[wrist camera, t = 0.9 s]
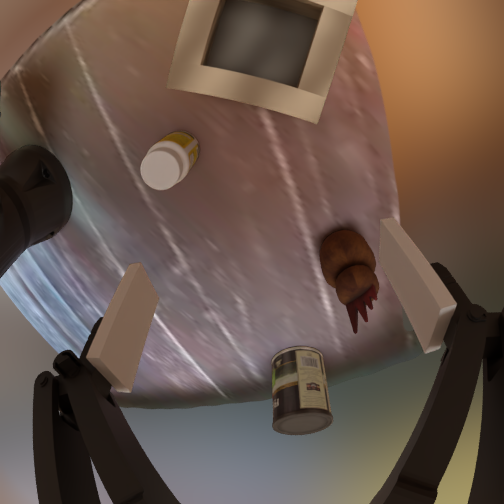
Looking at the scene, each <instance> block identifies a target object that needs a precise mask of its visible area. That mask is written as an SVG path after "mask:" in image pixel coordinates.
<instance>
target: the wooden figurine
mask: <svg viewBox="0 0 504 504" xmlns="http://www.w3.org/2000/svg"><path fill="white" fill-rule="evenodd" d="M320 262H321V268H322V272H323V275H324V277H325V280H326V281H327V283H328V284H329V285H331V286H332V287H333V288H336V293H337V296H338V298H339V300H340V302H341V303H342V304H344V305H346V308H347V311H348V315H349V318H350V321H351V324H352V328H353V331H354V333H355V334H356V333H357V328H358V311H359V312H360V314H361V316H362V317H363V319H364V321H365V322H368V317H367V311H366V305H367V306H368V307H369V308H370V309H371V310H372V309H373V305H372V301H373V300H377V293H378V290H379V282H378V279H377V276H376V275H375V273H374V271H375V267H376V261H375V257H374V253H373V252H372V250H371V248H370V247H369V245H368V244H367V242H366V241H365V239H364V238H363V237H362V236H361V235H360V234H358V233H355V232H353V231H350V230H341V231H337V232H334V233H333V234H331V235H329V236H328V237H327V238H326V239H325V240H324V242H323V244H322V247H321V249H320Z"/></svg>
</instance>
